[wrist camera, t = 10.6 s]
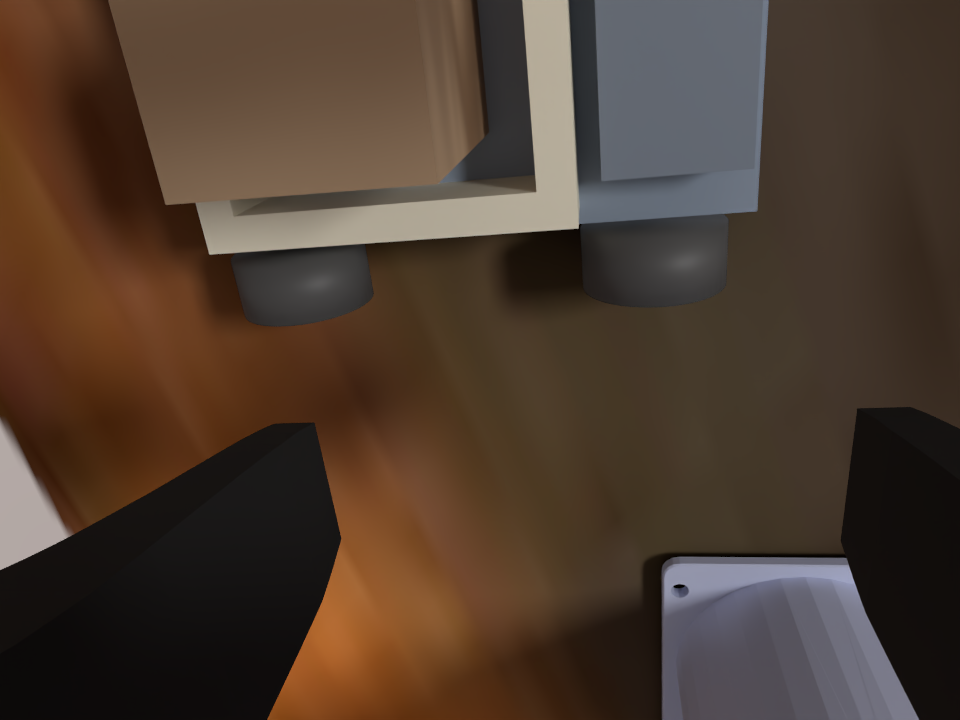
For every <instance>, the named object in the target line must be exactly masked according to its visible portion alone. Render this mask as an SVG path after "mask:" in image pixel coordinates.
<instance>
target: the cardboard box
mask: <svg viewBox="0 0 960 720" xmlns="http://www.w3.org/2000/svg"><path fill="white" fill-rule="evenodd" d="M108 2H109V6H110V9H111V13H112V16H113V20H114V23H115V27H116V30H117V34H118V37H119V41H120V45H121V48H122V52H123V55H124V59H125V62H126V66H127V69H128V73H129V77H130V80H131V84H132V87H133V91H134V94H135V98H136V101H137V105H138V108H139V112H140V116H141V119H142V123H143V126H144V130H145V133H146V137H147V140H148V144H149V148H150V151H151V155H152V158H153V162H154V165H155V169H156V172H157V176H158V179H159V183H160V187H161V190H162V194H163V197H164V201H165V204H166V205H172V204H185V203H198V202H211V201H224V200H238V199H251V198H264V197H277V196H290V195H303V194H316V193H329V192H342V191H355V190H368V189H381V188H394V187H407V186H420V185H433V184H438V183H439V182H440V181H441V180H442V179H443V178H444V177H445V176H446V175H447V174H448V173H449V172H450V171H451V170H452V169H453V168H454V167H455V166H456V165H457V164H458V163H459V162H460V161H461V160H462V159H463V158H464V157H465V156H466V155H467V154H468V153H469V152H470V151H471V150H472V149H473V148H474V147H475V146H476V145H477V144H478V143H479V142H480V141H481V140H482V139H483V138H484V137H485V136H486V135H487V134H488V133H489V125H488V114H487V103H486V92H485V81H484V69H483V58H482V47H481V36H480V25H479V14H478V3H477V0H108Z"/></svg>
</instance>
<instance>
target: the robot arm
mask: <svg viewBox="0 0 960 720" xmlns="http://www.w3.org/2000/svg"><path fill="white" fill-rule="evenodd" d="M340 541H341V535H340V531H339V527H338V522H337V518H336V514H335V509H334V505H333V501H332V496H331V492H330V488H329V484H328V479H327V475H326V471H325V466H324V462H323V458H322V453H321V449H320V445H319V440H318V436H317V432H316V427H315V423H283V424H273V425H271V426H268V427H266V428H264V429H261V430H259V431H257V432H255V433H253V434H251V435H249V436H248V437H246V438H244V439H242V440H240V441H238V442H237V443H235V444H233V445H231V446H229V447H228V448H226V449H224V450H222V451H221V452H219V453H217V454H216V455H214V456H212V457H210V458H209V459H207V460H205V461H204V462H202V463H200V464H198V465H197V466H195V467H193V468H192V469H190V470H188V471H187V472H185V473H183V474H181V475H180V476H178V477H176V478H175V479H173V480H171V481H169V482H168V483H166V484H164V485H163V486H161V487H159V488H158V489H156V490H154V491H152V492H151V493H149V494H147V495H145V496H144V497H142V498H140V499H138V500H136V501H134V502H133V503H131V504H129V505H127V506H125V507H123V508H122V509H120V510H118V511H116V512H114V513H113V514H111V515H109V516H107V517H105V518H103V519H102V520H100V521H98V522H96V523H94V524H92V525H91V526H89V527H87V528H85V529H83V530H81V531H80V532H78V533H76V534H74V535H72V536H70V537H68V538H66V539H64V540H63V541H61V542H58V543H57V544H55V545H53V546H51V547H49V548H47V549H44V550H42V551H40V552H38V553H36V554H34V555H32V556H30V557H28V558H26V559H24V560H22V561H19V562H18V563H15V564H13V565H11V566H9V567H6V568H4V569H2V570H0V720H267V718H268V716H269V714H270V712H271V710H272V708H273V706H274V704H275V702H276V699H277V697H278V695H279V693H280V691H281V689H282V687H283V685H284V683H285V680H286V678H287V676H288V674H289V672H290V670H291V668H292V666H293V664H294V661H295V659H296V657H297V655H298V653H299V651H300V649H301V647H302V644H303V642H304V640H305V638H306V636H307V634H308V631H309V629H310V627H311V625H312V623H313V621H314V618H315V616H316V614H317V612H318V609H319V607H320V605H321V603H322V600H323V597H324V594H325V591H326V588H327V585H328V582H329V579H330V576H331V573H332V569H333V566H334V562H335V559H336V555H337V552H338V548H339V545H340ZM841 543H842V546H843V549H844V552H845V555H846V558H779V557H674V558H671V559H669V560H667V561H666V562H665V563H664V564H663V566H662V720H960V429H959V428H957V427H955V426H953V425H951V424H948V423H946V422H944V421H942V420H940V419H938V418H936V417H934V416H931V415H929V414H927V413H924V412H922V411H919V410H917V409H914V408H912V407H897V408H859V409H857V416H856V424H855V432H854V439H853V447H852V455H851V463H850V471H849V479H848V487H847V495H846V503H845V511H844V519H843V526H842V534H841ZM677 584H682V585H685V586H684V587H683V588H674V587H673V586H674V585H677Z"/></svg>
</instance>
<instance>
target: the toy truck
mask: <svg viewBox="0 0 960 720" xmlns="http://www.w3.org/2000/svg"><path fill="white" fill-rule="evenodd" d="M477 3H478V14H479V25H480V36H481V47H482V58H483V69H484V81H485V92H486V103H487V114H488V125H489V133H488V134H487V135H486V136H485V137H484V138H483V139H482V140H481V141H480V142H479V143H478V144H477V145H476V146H475V147H474V148H473V149H472V150H471V151H470V152H469V153H468V154H467V155H466V156H465V157H464V158H463V159H462V160H461V161H460V162H459V163H458V164H457V165H456V166H455V167H454V168H453V169H452V170H451V171H450V172H449V173H448V174H447V175H446V176H445V177H444V178H443V179H442V180H441V181H440V182H439V183H438V184H433V185H420V186H407V187H394V188H381V189H368V190H355V191H342V192H329V193H316V194H303V195H290V196H277V197H264V198H251V199H238V200H224V201H211V202H198V203H196V207H197V211H198V214H199V218H200V222H201V226H202V229H203V233H204V237H205V240H206V244H207V248H208V251H209V255H212V254H226V253H236V254H235V255H234V256H233V257H232V258H231V264H232V268H233V272H234V276H235V280H236V284H237V287H238V291H239V295H240V299H241V303H242V307H243V311H244V314H245V317H246V319H247V320H248V321H250V322H252V323H254V324H258V325H263V326H294V325H303V324H309V323H315V322H319V321H324V320H328V319H331V318H335V317H338V316H341V315H344V314H347V313H349V312H352V311H354V310H356V309H358V308H360V307H361V306H363V305H365V304H366V303H367V302H369V301H370V300H371V298H372V297H373V294H374V293H373V287H372V281H371V276H370V270H369V265H368V259H367V253H366V248H365V244H367V243H381V242H395V241H409V240H423V239H437V238H452V237H466V236H480V235H494V234H508V233H522V232H536V231H550V230H564V229H579V224H582V225H581V227H580V233H581V253H582V273H583V289H584V291H585V293H586V294H588V295H589V296H590V297H592V298H594V299H596V300H599V301H602V302H605V303H609V304H614V305H620V306H629V307H667V306H676V305H683V304H689V303H693V302H697V301H701V300H704V299H707V298H710V297H712V296H714V295H716V294H718V293H719V292H721V291H722V290H723V289H724V288H725V286H726V276H727V249H728V222H729V220H728V218H727V217H726V216H725V215H723V214H726V213H740V212H754V211H757V205H758V186H759V167H760V149H761V130H762V111H763V93H764V74H765V56H766V37H767V18H768V0H477Z"/></svg>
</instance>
